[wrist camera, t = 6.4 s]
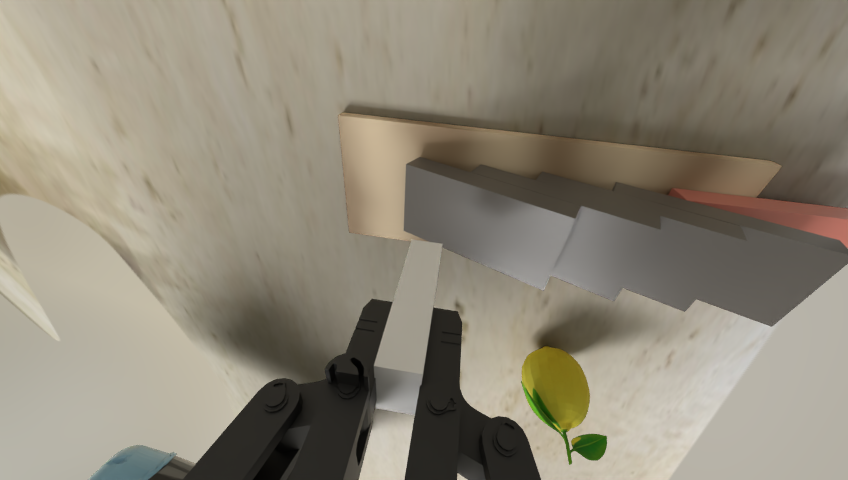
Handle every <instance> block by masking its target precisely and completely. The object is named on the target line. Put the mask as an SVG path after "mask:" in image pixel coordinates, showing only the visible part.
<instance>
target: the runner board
mask: <svg viewBox="0 0 848 480" xmlns="http://www.w3.org/2000/svg"><path fill="white" fill-rule="evenodd" d="M338 121H339V131H340V142H341V152H342V163H343V174H344V184H345V195H346V205H347V216H348V227H349V233H356V234H363V235H370V236H377V237H384V238H391V239H398V240H405V241H411V239H412V240H419V241H426V240H424V239H422V238H419V237H417V236H415V235H412V234H410V233H408V232H405V231H404V205H405V178H406V164H407V163H409V162H411V161H413V160H415V159H417V158H419V157H422V158H426V159H429V160H432V161H435V162H439V163H442V164H445V165H449V166H452V167H455V168H458V169H462V170H465V171H468V172H471V171H472V170H474V169H475V168H476V167H478V166H479V165H480V164H482V165H486V166H489V167H493V168H496V169H499V170H503V171H506V172H510V173H513V174H517V175H520V176H524V177H527V178H531V179H534V180H536V179H537V178H538V176H539V175H540V174H541V173H542V172H546V173H550V174H553V175H557V176H560V177H564V178H568V179H571V180H575V181H579V182H582V183H586V184H590V185H593V186H597V187H600V188H604V189H608V190H611V191H612V189H613V187H614V185H615V183H616V182H619V183H622V184H626V185H630V186H634V187H638V188H642V189H645V190H649V191H653V192H657V193H661V194H665V195H668V194H669V193H670V191H671V189H672V188H678V189H686V190H695V191H703V192H712V193H720V194H729V195H737V196H746V197H754V198H757V196H758V195H759V194H760V193H761V191H762V190H763V189H764V188H765V187H766V185H767V184H768V183H769V182H770V181H771V179H772V178H773V177H774V176H775V174H776V173H777V172H778V171H779V170H780V168H781V167H782V166H781V165H779V164H777V163H775V162H773V161H768V160H759V159H751V158H742V157H733V156H724V155H715V154H706V153H698V152H689V151H680V150H671V149H662V148H653V147H645V146H636V145H627V144H618V143H609V142H600V141H592V140H583V139H574V138H565V137H556V136H547V135H539V134H530V133H521V132H512V131H503V130H494V129H485V128H477V127H468V126H459V125H450V124H441V123H432V122H424V121H415V120H406V119H397V118H388V117H379V116H371V115H362V114H353V113H344V112H342V113H341V114H339V115H338ZM426 242H429V241H426Z"/></svg>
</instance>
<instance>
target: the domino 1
mask: <svg viewBox="0 0 848 480" xmlns="http://www.w3.org/2000/svg"><path fill="white" fill-rule="evenodd" d="M579 209H580V205H577V204H573V203H570V202H567V201H563V200H560V199H557V198H554V197H550V196H547V195H544V194H540V193H537V192H534V191H531V190H527V189H524V188H521V187H517V186H514V185H511V184H508V183H504V182H501V181H498V180H494V179H491V178H488V177H485V176H481V175H478V174H475V173H472V172H468V171H465V170H462V169H458V168H455V167H452V166H449V165H445V164H442V163H439V162H435V161H432V160H429V159H426V158H422V157H419V158H417V159H415V160H413V161H411V162H409V163H407V164H406V178H405V205H404V231H405V232H408V233H410V234H412V235H415V236H417V237H419V238H422V239H424V240H426V241H429V242H433V243H441V244H443V245H442V247H443V248H445V249H447V250H450V251H452V252H454V253H457V254H459V255H461V256H464V257H466V258H468V259H470V260H473V261H475V262H477V263H480V264H482V265H484V266H487V267H489V268H491V269H494V270H496V271H498V272H501V273H503V274H505V275H508V276H510V277H512V278H515V279H517V280H519V281H522V282H524V283H526V284H529V285H531V286H533V287H536V288H538V289H540V290H543V291H544V289H545V287H546V285H547V282H548V280H549V278H550V276H551V273H552V271H553V269H554V266H555V264H556V262H557V260H558V257H559V255H560V253H561V250H562V248H563V246H564V244H565V241H566V239H567V237H568V235H569V232H570V230H571V228H572V225H573V223H574V221H575V219H576V216H577V214H578V211H579Z"/></svg>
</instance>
